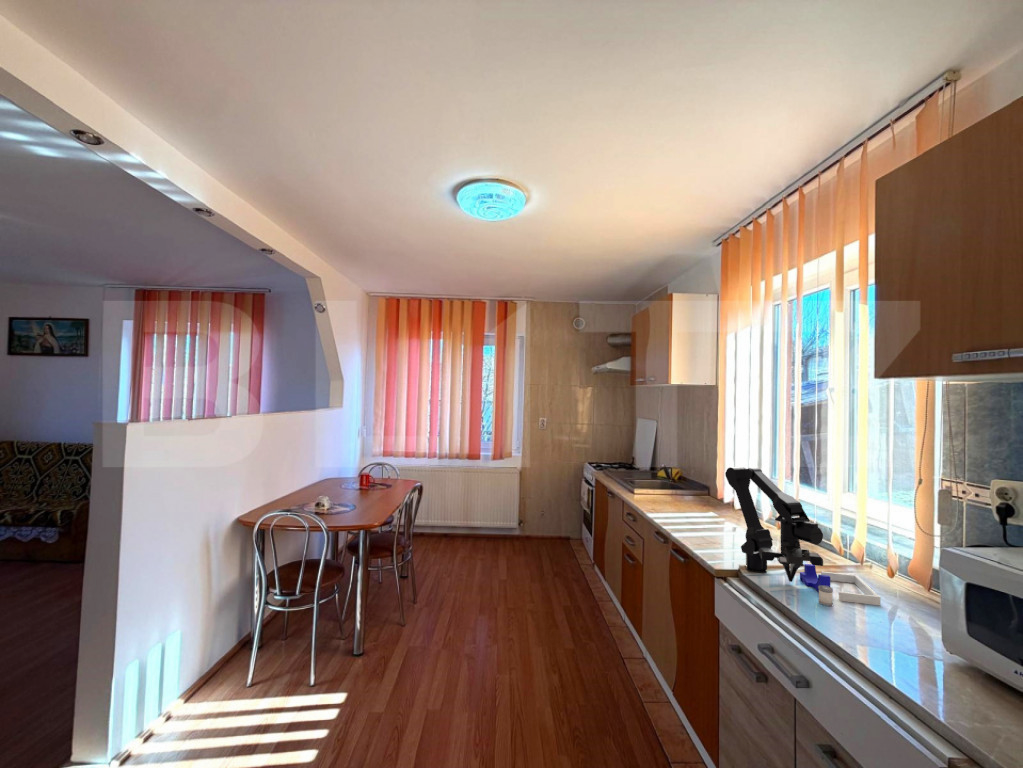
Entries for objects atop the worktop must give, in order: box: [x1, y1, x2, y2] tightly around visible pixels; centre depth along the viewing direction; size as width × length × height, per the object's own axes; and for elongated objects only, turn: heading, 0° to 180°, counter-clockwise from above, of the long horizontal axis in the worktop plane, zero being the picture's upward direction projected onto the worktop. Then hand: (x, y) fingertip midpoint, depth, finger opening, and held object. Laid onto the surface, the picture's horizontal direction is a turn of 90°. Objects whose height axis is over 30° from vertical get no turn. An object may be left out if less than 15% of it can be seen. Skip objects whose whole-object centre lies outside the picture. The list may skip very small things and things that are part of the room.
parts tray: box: [820, 570, 881, 606], centre depth 159 cm, size 11×20×3 cm, turn 161°
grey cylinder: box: [818, 585, 834, 607], centre depth 149 cm, size 4×4×5 cm
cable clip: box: [799, 563, 831, 593], centre depth 163 cm, size 12×4×6 cm, turn 171°
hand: (790, 581), depth 164 cm, fingers closed
